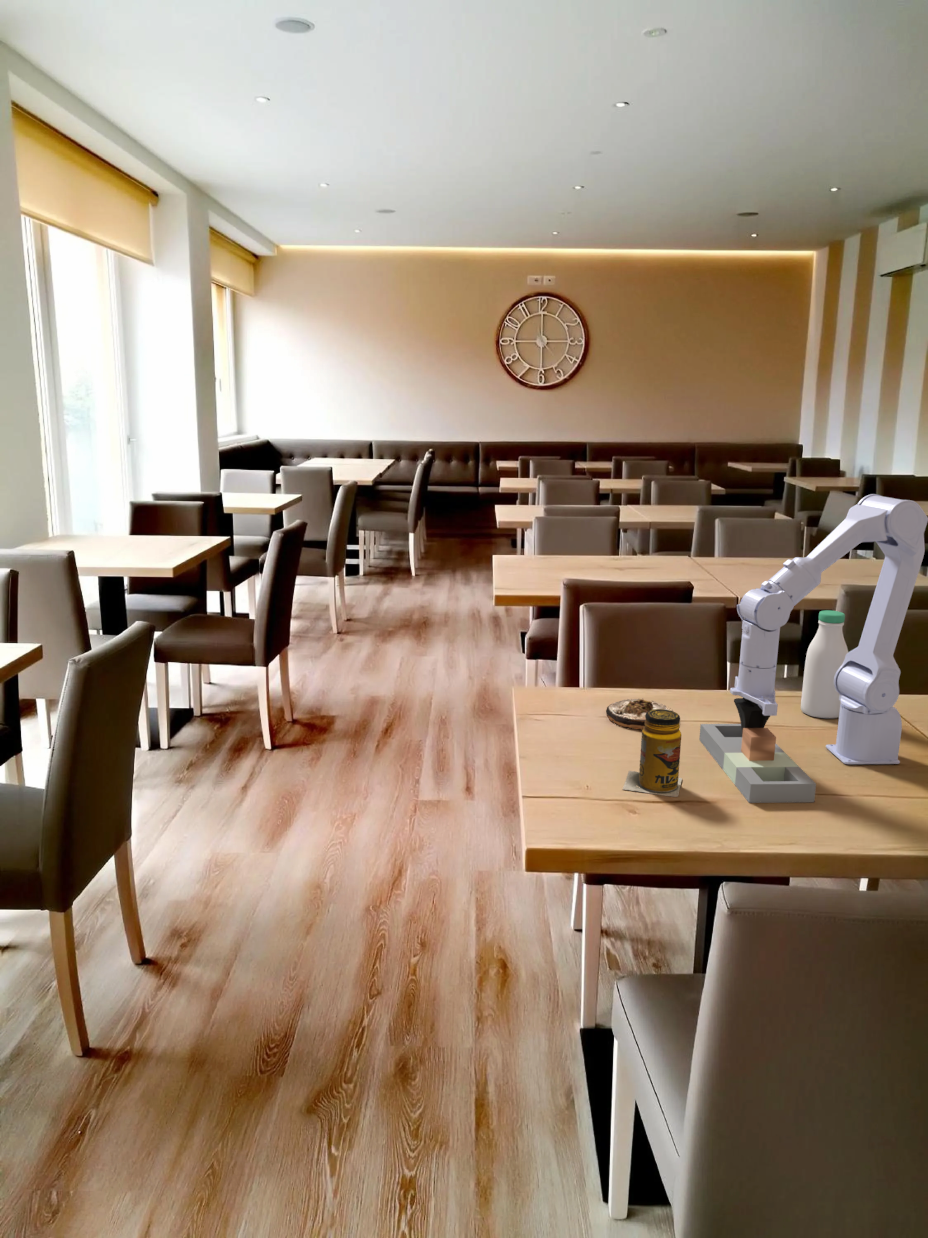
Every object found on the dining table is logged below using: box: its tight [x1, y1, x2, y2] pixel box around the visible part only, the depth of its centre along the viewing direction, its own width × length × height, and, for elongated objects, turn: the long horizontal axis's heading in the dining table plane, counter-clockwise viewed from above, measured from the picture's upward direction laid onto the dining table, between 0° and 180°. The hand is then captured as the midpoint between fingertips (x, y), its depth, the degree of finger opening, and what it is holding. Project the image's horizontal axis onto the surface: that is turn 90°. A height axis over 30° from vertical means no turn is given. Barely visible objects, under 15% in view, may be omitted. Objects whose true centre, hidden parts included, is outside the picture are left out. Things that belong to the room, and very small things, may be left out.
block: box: [741, 727, 777, 761], centre depth 151 cm, size 4×4×4 cm
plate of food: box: [605, 698, 675, 731], centre depth 176 cm, size 15×15×4 cm
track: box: [699, 723, 817, 804], centre depth 154 cm, size 10×26×3 cm, turn 3°
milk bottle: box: [800, 609, 849, 720], centre depth 179 cm, size 8×8×20 cm
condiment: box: [622, 708, 683, 798], centre depth 146 cm, size 7×8×12 cm
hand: (750, 742), depth 155 cm, fingers closed
